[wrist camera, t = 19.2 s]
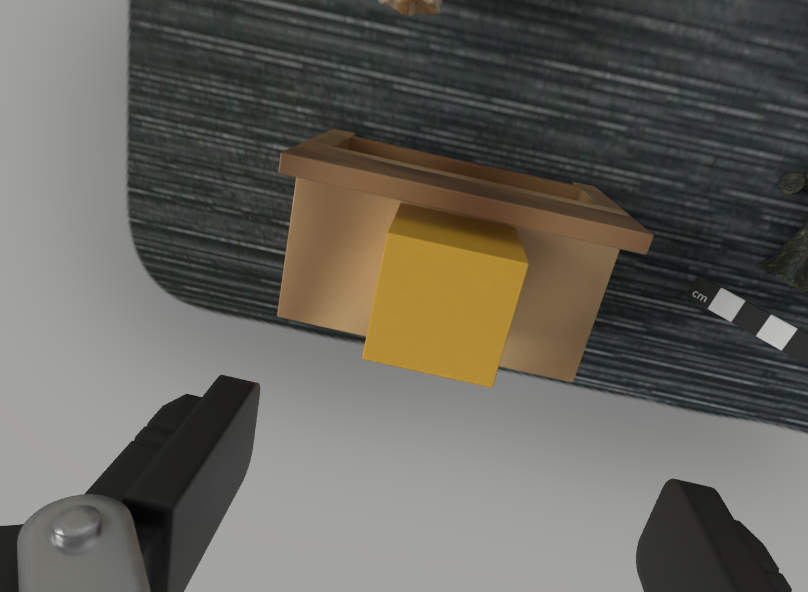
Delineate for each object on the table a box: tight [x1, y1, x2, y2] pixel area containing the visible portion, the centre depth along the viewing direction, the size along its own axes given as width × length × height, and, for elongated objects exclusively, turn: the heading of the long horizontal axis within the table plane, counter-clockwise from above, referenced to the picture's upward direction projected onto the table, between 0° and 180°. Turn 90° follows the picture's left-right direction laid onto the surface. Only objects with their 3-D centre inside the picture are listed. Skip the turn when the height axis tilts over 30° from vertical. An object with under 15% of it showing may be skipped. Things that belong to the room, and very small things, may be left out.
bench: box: [277, 129, 654, 382], centre depth 28 cm, size 14×8×10 cm, turn 78°
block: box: [362, 203, 529, 388], centre depth 24 cm, size 5×5×5 cm
